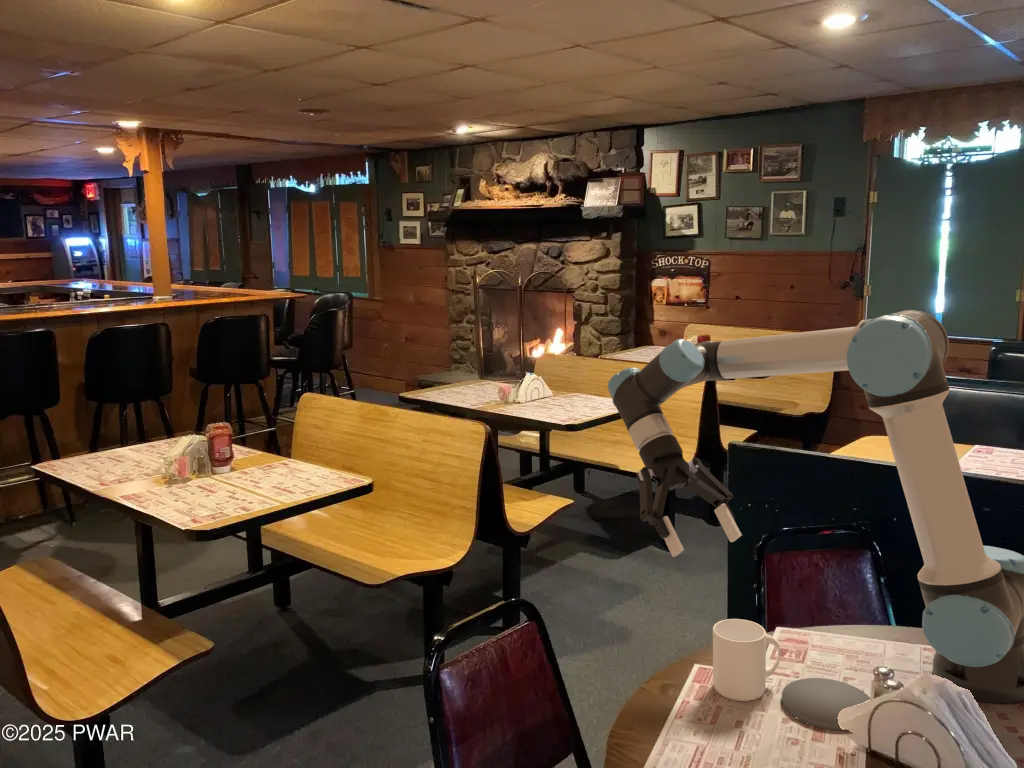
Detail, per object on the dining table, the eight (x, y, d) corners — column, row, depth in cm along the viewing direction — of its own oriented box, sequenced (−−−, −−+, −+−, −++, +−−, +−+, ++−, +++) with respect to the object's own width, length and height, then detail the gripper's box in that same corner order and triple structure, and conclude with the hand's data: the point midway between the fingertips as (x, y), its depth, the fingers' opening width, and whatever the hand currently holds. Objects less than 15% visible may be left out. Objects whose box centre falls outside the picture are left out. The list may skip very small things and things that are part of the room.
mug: (793, 695, 135) (794, 634, 133) (727, 706, 133) (727, 645, 131) (767, 670, 143) (767, 613, 142) (704, 680, 141) (704, 622, 139)
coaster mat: (870, 689, 136) (870, 684, 135) (878, 736, 123) (878, 730, 122) (782, 678, 140) (782, 673, 140) (780, 722, 127) (780, 716, 127)
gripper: (695, 445, 161) (747, 542, 151) (593, 462, 148) (641, 568, 139) (716, 425, 155) (771, 524, 145) (611, 441, 143) (663, 550, 133)
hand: (708, 546), depth 142 cm, fingers open, 13 cm apart
